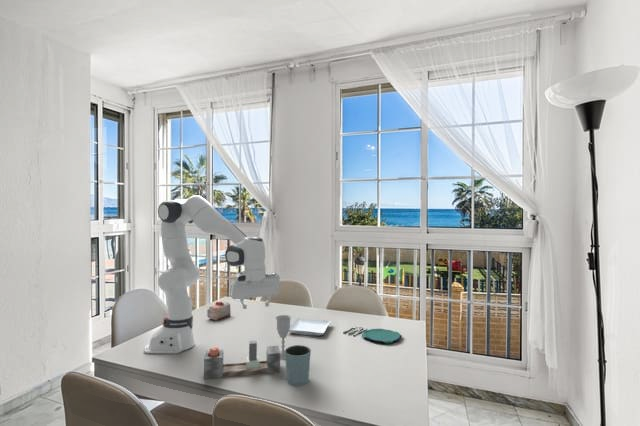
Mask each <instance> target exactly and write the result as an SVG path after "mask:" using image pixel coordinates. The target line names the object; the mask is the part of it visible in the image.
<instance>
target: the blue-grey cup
mask: <svg viewBox="0 0 640 426" xmlns="http://www.w3.org/2000/svg"><path fill="white" fill-rule="evenodd" d="M284 350H285V357H286V359H285V369H286V382H287V383H288V384H289V385H291V386H303V385H306V384H307V383H308V382H309V377H310V375H309V373H310V362H311V354H312V353H311V352H312V350H311V348H310V347H309V346H307V345H302V344H301V345H300V344H294V345H291V346H288V347H287V348H285V349H284Z"/></svg>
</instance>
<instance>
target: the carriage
mask: <svg viewBox="0 0 640 426" xmlns="http://www.w3.org/2000/svg"><path fill="white" fill-rule="evenodd" d="M257 342H258V341H257V340H249V341H248V356H246V361H245V362H246V366H247V369H255V368H259V361H260V358H259V357H260V356H259V355H257V352H258V351H257V350H258V343H257Z"/></svg>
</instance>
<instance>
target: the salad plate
mask: <svg viewBox="0 0 640 426" xmlns="http://www.w3.org/2000/svg"><path fill="white" fill-rule="evenodd" d="M331 323H332V320H328V319H327V320H326V319H316V318H315V319H314V318H302V317H301V318H299V317H298V318H296V319H295V320H294V321H293V322H292V323H290V329H289V332H288V333H291V334H295V335H304V334H305V335H306V336H314V337H315V336H322V335H324V334H325V332H326V330H327V329H328V328H329V326H330V325H331Z"/></svg>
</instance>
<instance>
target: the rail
mask: <svg viewBox="0 0 640 426" xmlns="http://www.w3.org/2000/svg"><path fill="white" fill-rule="evenodd" d="M280 351H281V350H280V347H279V345H271V346H270V345H268V346H266V360H259V368H255V369H247V366H246V361H244V362H235V363H234V362H232V363H224V349H219V356H212V357H209V350H205V354H204V359H203V380H209V379H210V380H211V379H212V380H213V379H220V378H226V377H227V378H228V377H239V376H248V375H250V376H251V375H259V374H275V373H276V374H277V373H279V374H280V373H281V359H280Z"/></svg>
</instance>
